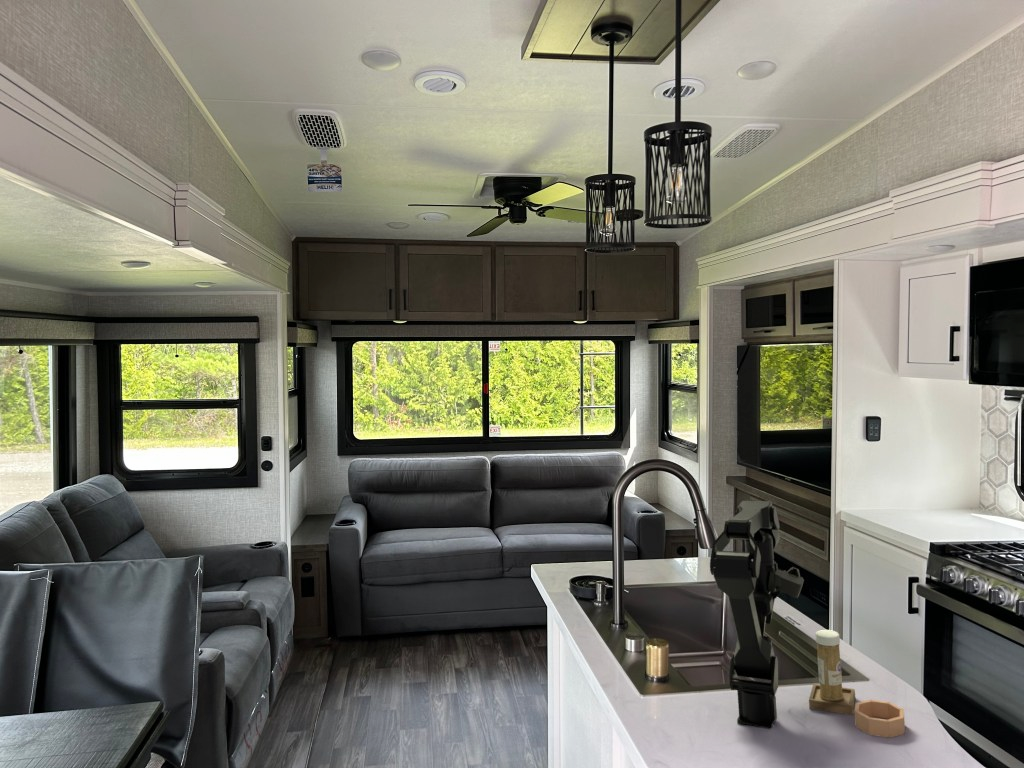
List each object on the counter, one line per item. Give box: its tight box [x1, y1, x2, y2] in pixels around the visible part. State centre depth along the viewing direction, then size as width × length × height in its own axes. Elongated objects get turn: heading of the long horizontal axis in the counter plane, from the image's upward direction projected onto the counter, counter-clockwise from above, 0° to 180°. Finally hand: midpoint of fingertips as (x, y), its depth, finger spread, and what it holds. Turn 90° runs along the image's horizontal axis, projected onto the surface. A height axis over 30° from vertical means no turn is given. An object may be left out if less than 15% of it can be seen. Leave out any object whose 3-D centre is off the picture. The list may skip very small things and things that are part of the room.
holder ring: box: [854, 699, 906, 738], centre depth 143 cm, size 8×8×3 cm
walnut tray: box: [808, 683, 856, 716], centre depth 153 cm, size 8×8×2 cm
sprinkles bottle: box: [815, 629, 843, 702], centre depth 153 cm, size 5×5×13 cm
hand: (764, 630), depth 161 cm, fingers open, 9 cm apart
